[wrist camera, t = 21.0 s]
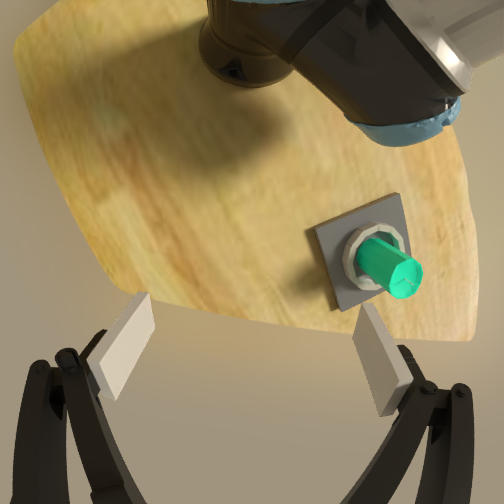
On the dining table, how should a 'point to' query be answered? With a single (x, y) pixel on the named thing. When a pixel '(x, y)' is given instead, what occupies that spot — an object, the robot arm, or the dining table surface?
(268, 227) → the dining table surface
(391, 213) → the candle stand
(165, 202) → the dining table surface
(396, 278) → the candle
